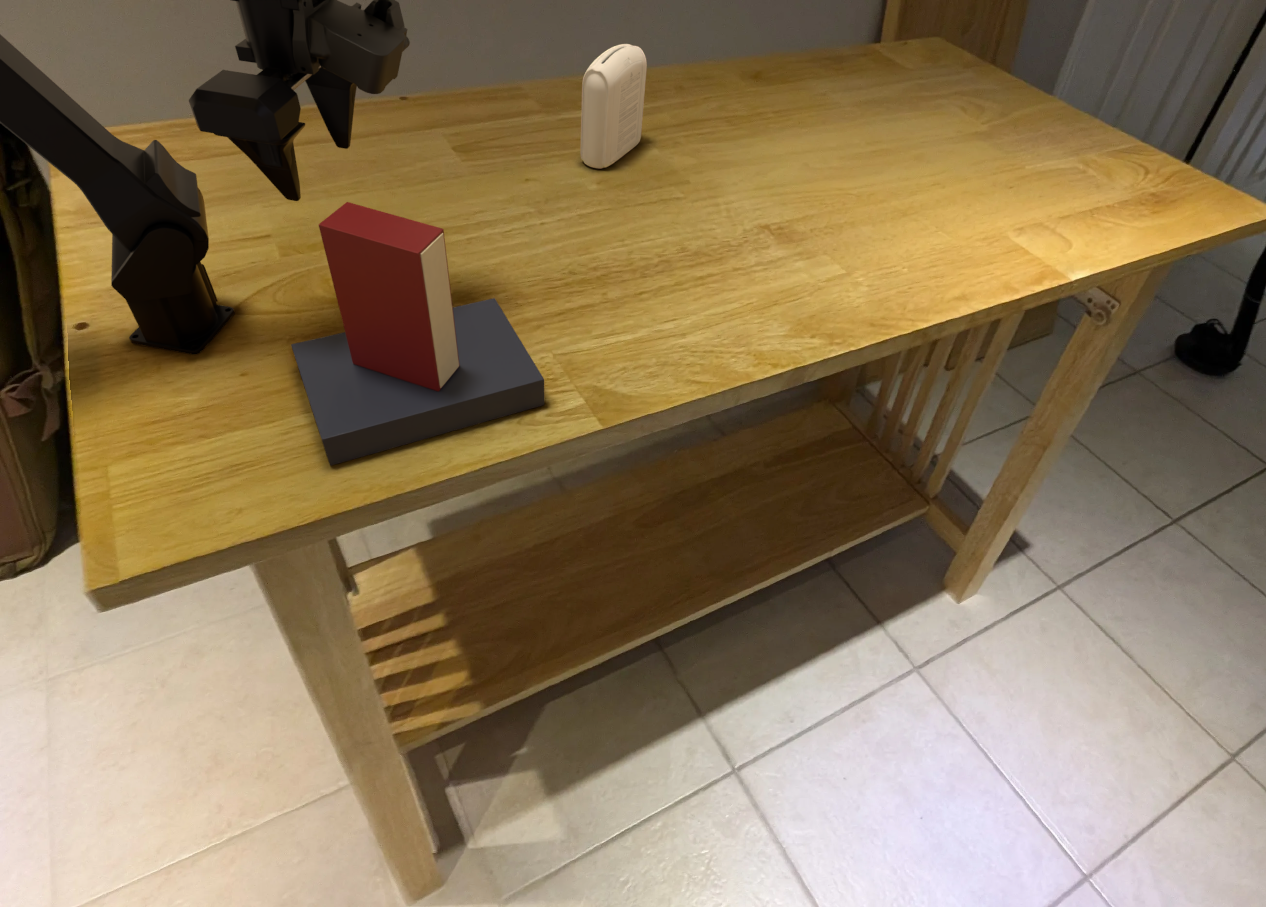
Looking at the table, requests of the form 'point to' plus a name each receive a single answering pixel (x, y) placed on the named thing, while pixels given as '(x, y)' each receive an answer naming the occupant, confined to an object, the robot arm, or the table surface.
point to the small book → (393, 293)
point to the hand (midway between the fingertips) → (319, 172)
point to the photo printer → (612, 105)
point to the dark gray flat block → (418, 388)
